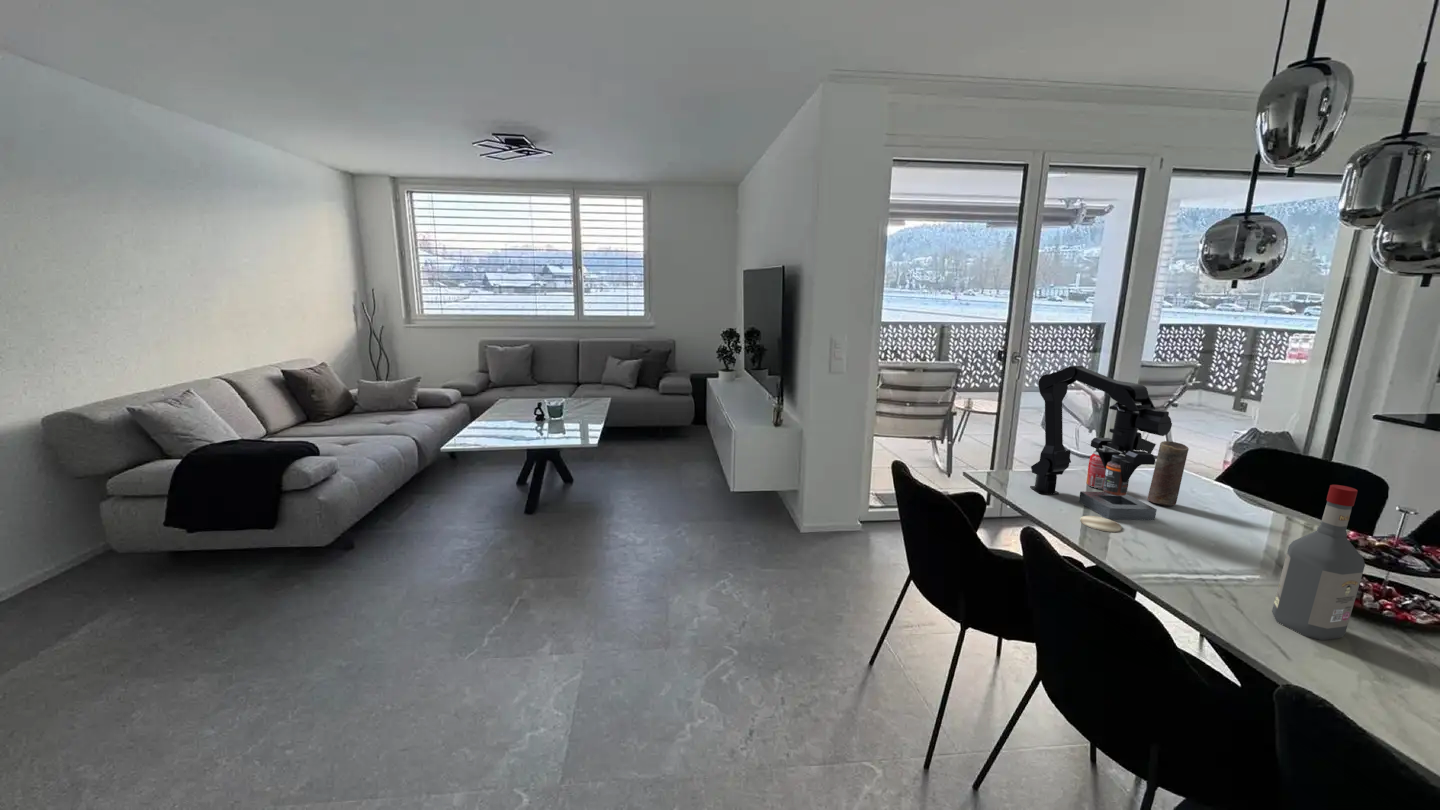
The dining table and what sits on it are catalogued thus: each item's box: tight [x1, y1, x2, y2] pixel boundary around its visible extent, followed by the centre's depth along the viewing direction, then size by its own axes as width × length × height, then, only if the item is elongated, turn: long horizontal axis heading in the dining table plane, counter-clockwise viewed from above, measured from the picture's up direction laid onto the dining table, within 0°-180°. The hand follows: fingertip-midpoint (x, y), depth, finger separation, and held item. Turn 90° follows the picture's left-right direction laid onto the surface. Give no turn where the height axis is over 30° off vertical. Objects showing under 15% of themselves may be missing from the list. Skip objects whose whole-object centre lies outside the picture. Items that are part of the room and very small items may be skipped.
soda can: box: [1085, 450, 1106, 490], centre depth 197 cm, size 7×7×12 cm
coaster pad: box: [1079, 515, 1123, 533], centre depth 165 cm, size 10×10×1 cm
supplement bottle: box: [1102, 454, 1130, 496], centre depth 169 cm, size 6×6×11 cm
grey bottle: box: [1271, 484, 1366, 641], centre depth 114 cm, size 9×9×30 cm
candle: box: [1146, 440, 1190, 507], centre depth 181 cm, size 8×7×20 cm
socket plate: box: [1078, 491, 1157, 521], centre depth 176 cm, size 14×14×4 cm
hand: (1116, 478), depth 169 cm, fingers closed on supplement bottle, 6 cm apart
